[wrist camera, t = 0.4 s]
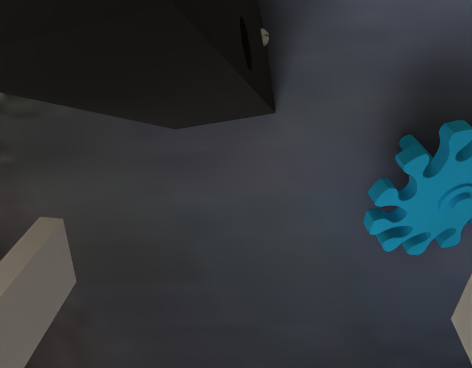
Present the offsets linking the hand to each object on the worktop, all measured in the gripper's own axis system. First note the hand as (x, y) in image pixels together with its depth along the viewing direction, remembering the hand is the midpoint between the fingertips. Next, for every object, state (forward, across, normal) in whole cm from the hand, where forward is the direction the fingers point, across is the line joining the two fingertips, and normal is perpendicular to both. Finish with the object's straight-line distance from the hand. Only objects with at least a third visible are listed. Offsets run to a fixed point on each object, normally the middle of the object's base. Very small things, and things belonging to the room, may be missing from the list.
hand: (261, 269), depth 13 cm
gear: (+14, -11, +4) cm, 18 cm away
